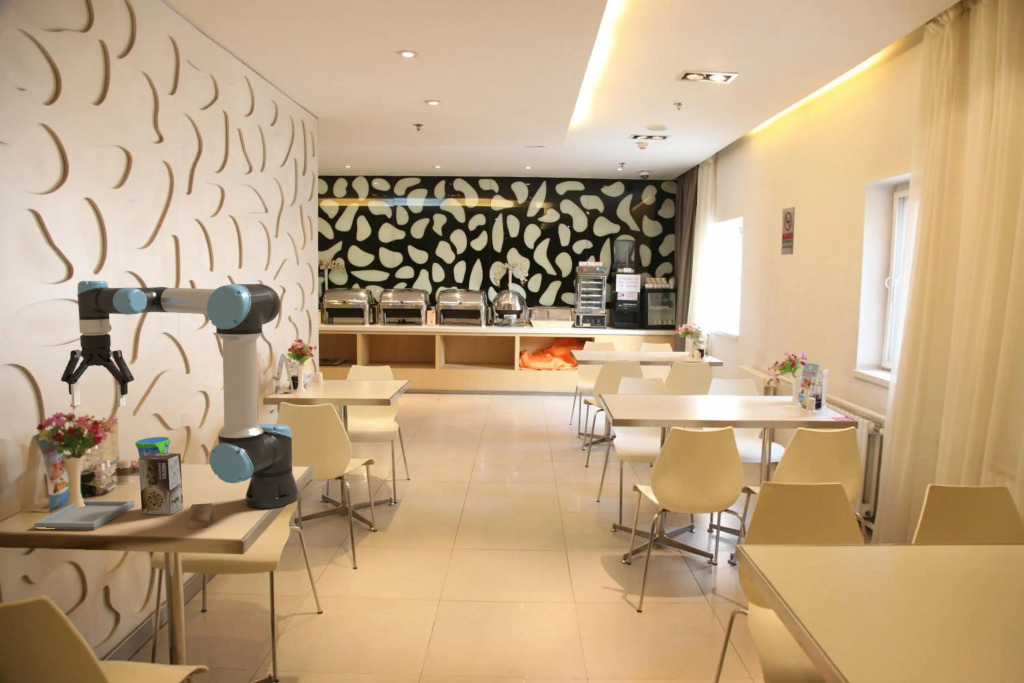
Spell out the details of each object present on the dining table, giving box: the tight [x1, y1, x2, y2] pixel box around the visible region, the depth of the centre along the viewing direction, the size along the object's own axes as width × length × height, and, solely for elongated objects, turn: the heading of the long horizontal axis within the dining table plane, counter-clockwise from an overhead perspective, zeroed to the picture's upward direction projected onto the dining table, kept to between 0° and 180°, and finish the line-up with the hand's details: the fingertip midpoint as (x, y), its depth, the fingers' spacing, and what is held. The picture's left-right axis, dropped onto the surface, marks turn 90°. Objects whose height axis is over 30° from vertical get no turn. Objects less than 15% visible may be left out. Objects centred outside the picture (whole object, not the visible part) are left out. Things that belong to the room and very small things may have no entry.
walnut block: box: [187, 502, 214, 529], centre depth 181 cm, size 5×5×5 cm
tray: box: [33, 499, 135, 531], centre depth 186 cm, size 16×18×2 cm
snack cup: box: [134, 436, 171, 459], centre depth 234 cm, size 16×10×10 cm
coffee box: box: [137, 452, 184, 515], centre depth 191 cm, size 9×6×16 cm
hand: (99, 405), depth 197 cm, fingers open, 13 cm apart
